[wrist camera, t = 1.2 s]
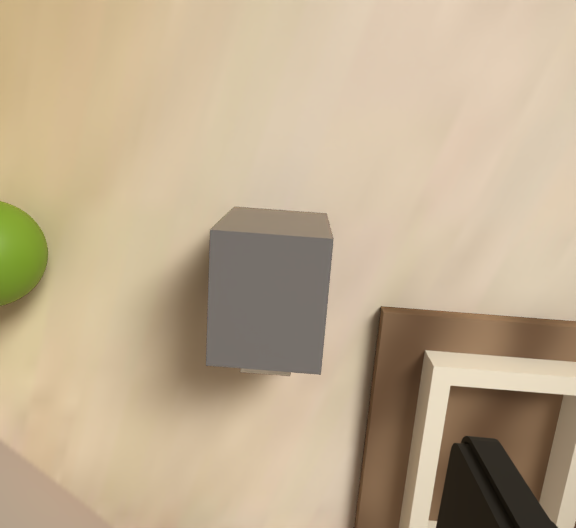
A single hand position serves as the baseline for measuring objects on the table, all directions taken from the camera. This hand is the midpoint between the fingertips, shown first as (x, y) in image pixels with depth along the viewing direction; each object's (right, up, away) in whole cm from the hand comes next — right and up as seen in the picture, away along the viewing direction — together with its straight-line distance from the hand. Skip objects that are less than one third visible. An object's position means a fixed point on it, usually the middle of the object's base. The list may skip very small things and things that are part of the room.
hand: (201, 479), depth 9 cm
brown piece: (+13, -7, +21) cm, 25 cm away
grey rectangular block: (+1, +4, +18) cm, 19 cm away
